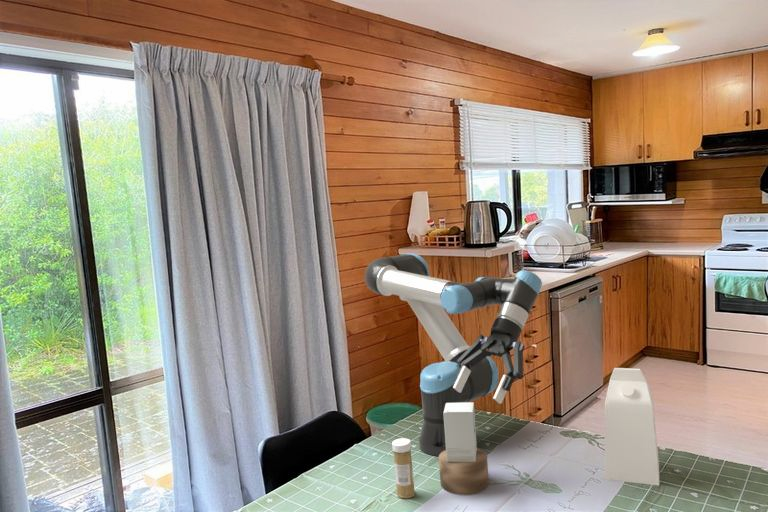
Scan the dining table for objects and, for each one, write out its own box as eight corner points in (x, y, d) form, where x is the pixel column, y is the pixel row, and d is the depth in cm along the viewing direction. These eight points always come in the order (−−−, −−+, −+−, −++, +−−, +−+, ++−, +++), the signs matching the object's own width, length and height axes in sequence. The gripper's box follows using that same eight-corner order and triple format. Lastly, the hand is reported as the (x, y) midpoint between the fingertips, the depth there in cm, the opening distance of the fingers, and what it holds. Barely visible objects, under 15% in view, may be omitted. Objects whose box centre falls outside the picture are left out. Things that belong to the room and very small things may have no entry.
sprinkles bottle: (418, 491, 141) (413, 438, 140) (410, 500, 137) (405, 446, 136) (401, 488, 144) (397, 436, 143) (393, 497, 140) (388, 443, 139)
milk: (658, 464, 145) (654, 363, 143) (659, 485, 135) (654, 377, 133) (608, 459, 150) (602, 361, 149) (604, 479, 140) (598, 374, 138)
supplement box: (476, 462, 139) (473, 412, 138) (446, 462, 141) (442, 412, 140) (477, 450, 147) (474, 401, 146) (448, 449, 148) (445, 401, 147)
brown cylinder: (431, 480, 147) (429, 454, 147) (471, 468, 152) (469, 442, 152) (457, 500, 136) (455, 471, 136) (498, 486, 141) (496, 458, 141)
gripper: (555, 337, 145) (523, 413, 138) (481, 326, 165) (449, 392, 157) (541, 321, 141) (507, 398, 134) (466, 312, 161) (433, 379, 153)
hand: (476, 395), depth 145 cm, fingers open, 13 cm apart
